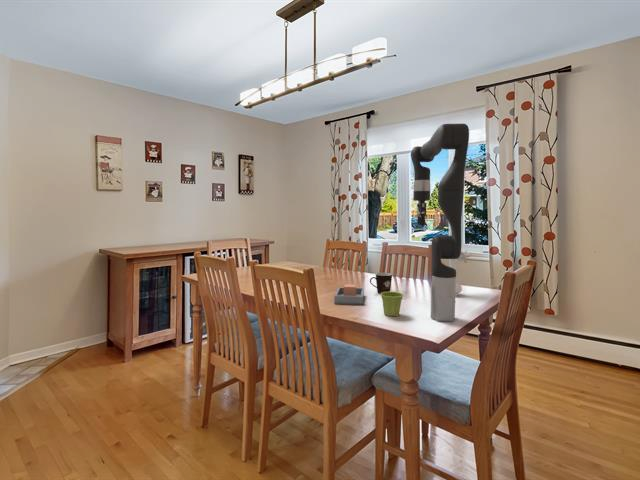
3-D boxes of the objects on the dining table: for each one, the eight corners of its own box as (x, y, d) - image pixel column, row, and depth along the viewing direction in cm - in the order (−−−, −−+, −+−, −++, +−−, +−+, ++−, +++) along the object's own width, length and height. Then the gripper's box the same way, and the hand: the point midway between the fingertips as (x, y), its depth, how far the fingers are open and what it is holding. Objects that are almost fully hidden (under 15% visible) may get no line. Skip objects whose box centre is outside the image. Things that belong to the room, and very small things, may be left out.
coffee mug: (391, 291, 189) (391, 272, 188) (392, 295, 181) (393, 275, 180) (369, 290, 190) (369, 272, 190) (369, 294, 182) (370, 275, 181)
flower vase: (472, 293, 183) (474, 245, 181) (455, 299, 171) (456, 248, 169) (448, 289, 193) (450, 243, 191) (430, 295, 180) (432, 246, 178)
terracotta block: (355, 299, 169) (355, 287, 168) (343, 299, 170) (343, 286, 169) (355, 296, 174) (355, 284, 174) (344, 296, 175) (344, 284, 175)
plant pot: (386, 310, 154) (387, 290, 153) (407, 314, 148) (407, 293, 147) (375, 315, 147) (376, 294, 146) (396, 319, 141) (396, 298, 140)
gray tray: (362, 304, 162) (362, 296, 162) (334, 303, 164) (334, 295, 164) (363, 295, 180) (363, 288, 180) (338, 294, 182) (338, 287, 182)
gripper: (432, 189, 157) (431, 226, 158) (428, 191, 171) (427, 224, 172) (415, 189, 158) (414, 226, 159) (412, 191, 172) (411, 224, 173)
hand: (421, 225), depth 166 cm, fingers open, 8 cm apart
